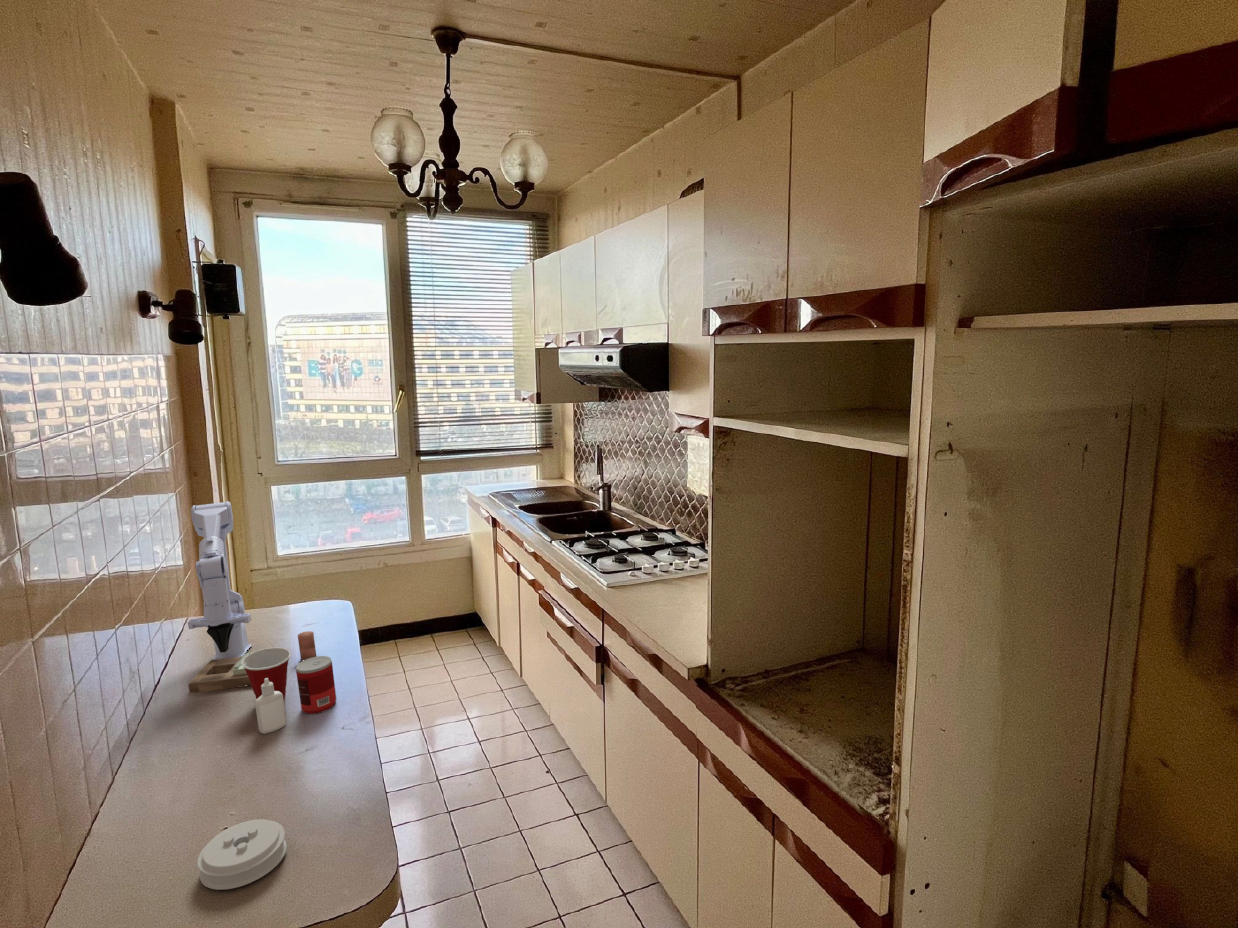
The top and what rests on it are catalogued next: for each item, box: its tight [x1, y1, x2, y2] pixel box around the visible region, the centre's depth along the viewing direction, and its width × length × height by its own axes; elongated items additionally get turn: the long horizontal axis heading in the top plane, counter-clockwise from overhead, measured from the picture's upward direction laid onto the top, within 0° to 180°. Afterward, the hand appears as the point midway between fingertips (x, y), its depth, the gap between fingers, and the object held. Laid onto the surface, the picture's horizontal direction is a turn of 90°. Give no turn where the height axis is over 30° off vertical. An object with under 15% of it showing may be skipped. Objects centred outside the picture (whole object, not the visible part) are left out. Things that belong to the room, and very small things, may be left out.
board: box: [188, 657, 251, 694], centre depth 183 cm, size 14×18×2 cm
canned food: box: [295, 655, 337, 715], centre depth 164 cm, size 8×8×11 cm
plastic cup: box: [241, 646, 292, 700], centre depth 167 cm, size 11×11×12 cm
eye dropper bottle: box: [254, 678, 288, 735], centre depth 155 cm, size 4×6×12 cm
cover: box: [233, 652, 252, 675], centre depth 184 cm, size 10×9×2 cm
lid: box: [197, 819, 288, 891], centre depth 113 cm, size 13×13×5 cm
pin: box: [297, 631, 317, 661], centre depth 192 cm, size 4×4×7 cm
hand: (224, 650), depth 182 cm, fingers closed
